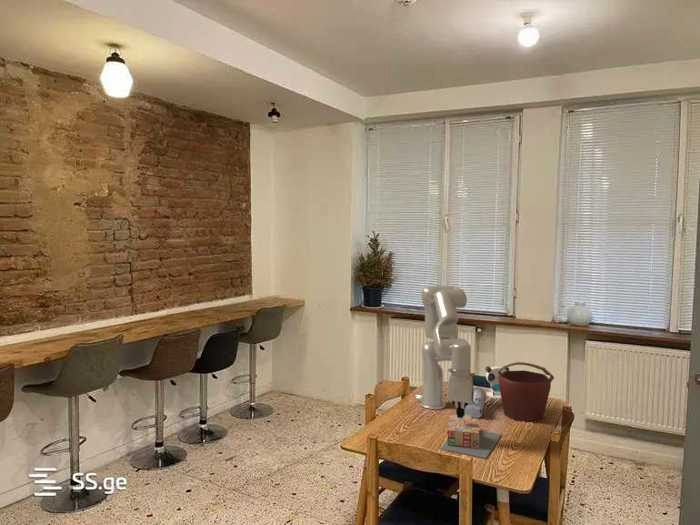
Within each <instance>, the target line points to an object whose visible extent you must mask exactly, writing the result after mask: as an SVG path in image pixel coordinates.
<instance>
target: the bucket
mask: <svg viewBox="0 0 700 525" xmlns="http://www.w3.org/2000/svg"><path fill="white" fill-rule="evenodd" d="M516 365H517V366H518V365H519V366H527V367H528V366H529V367H532V368H535V369H537V370H541V371H542V372H543V373H540V372H535V371H529V370H525V369H524V370H509V371H504V372H503V373H501V372H500V371H501V370H502V369H504V368H507V367H508V368H509V367H512V366H513V367H514V366H516ZM501 367H502V368H501V369H500V370H499V371H498V374H499V387H500V393H501V398H500V399H501V402H502V409H503V413H504V416H505V417H506V418H509V419H511V420H512V419H513V421H514V420H515V422H521V421H524V422H523V423H530V422H533V423H535V421H536V422H539V421H538V420H540V421H542V420H541V419H543V420H544V416H545V412H546V409H547V403H548V400H549V395H550V391H551V387H552V385H551V384H552V382H553V381H554V379H555V377H554V375H553V374H552V373H551V372H550V371H548V369H547V368H545V367H544V366H540V365H537V364H533V363H531V362H530V363H529V362H523V361H521V362H520V361H516V362H513V363H512V362H511V363H508V364H506V365H504V366H501Z"/></svg>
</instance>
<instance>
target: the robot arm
mask: <svg viewBox="0 0 700 525" xmlns="http://www.w3.org/2000/svg"><path fill="white" fill-rule="evenodd" d="M420 296H421V301H422V306H423V308H424V333H425V337H426V338H427V339H429V340H432V341H428V342H425V343H423V344H422V346H421V357H422V363H423V365H422V366H423V368H422V369H423V371H422V372H423V374H422V375H423V378H422V380H423V382H422V383H423V386H422V387H423V388H422V392H423V393H422V394H415V399H416V400H420V402H419V405H421V406H420V407H421V408H423V407H424V408H423V409H427V408H428V409H427V410H442V409H445V408H446V407H447V404H446V402H445V401H444V400H443V399H444V398H443V394H444V393H443V392H444V389H443V388H444V370H443V368H442V366H441V365H440V364H439V362H451V368H448V369H447V370H448V373H451V374H450V375H449V377H448V383H447V391H446V397H447V401H448V402H450V403H452V404H453V405H454V407H455V408H456V409H455V410H456V412H455V413H456V415H457V418H462V417H463V416H464V414H466V413H465V407H466V406H467V405H473V404H474V401H473V398H474V388H475V387H474V382H473V381H474V380H473V376H472V375H471V361H472V360H471V357H472V356H471V353H472V351H471V350H472V349H471V348H472V346H471V344H469V342H468V340H467V339H466V338H459V327H458V325H457V323H458V321H459V314H458V311H457V309H461V308H462V309H463V308H465V307H466V306H467V304H468V301H467V300H468V298H467V295H466V293H465V291H464V290H463V288H460V287H458V286H455V285H431V286H425V287H423V288H422V290H421V294H420Z"/></svg>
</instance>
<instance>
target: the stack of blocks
mask: <svg viewBox="0 0 700 525" xmlns="http://www.w3.org/2000/svg"><path fill="white" fill-rule="evenodd" d="M479 430H480V422H476V421H472V418H471V414H466V413H465V414H464V416H463V417H462V418H457V415H456V412H455V413H454V412H450V413H449V419H448V426H447V440H448V443H447V445H451V446H461V447H469V448H479Z"/></svg>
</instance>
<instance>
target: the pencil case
mask: <svg viewBox="0 0 700 525" xmlns="http://www.w3.org/2000/svg"><path fill="white" fill-rule="evenodd" d="M473 388H474V398H473V401H474V404H473V405H467V406H466V407H465V414H471V419H479V418H481V417H482V416H483V412H484V407H485V402H486V400H487V392H486V391H485V390H484V389H483V388H481V387H476V386H475V387H473Z"/></svg>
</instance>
